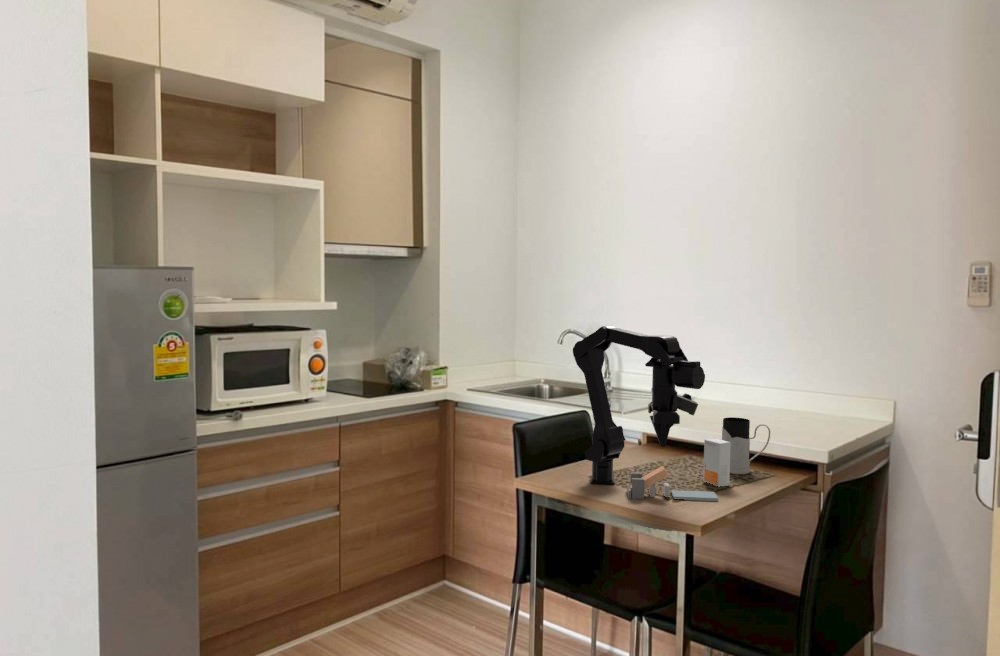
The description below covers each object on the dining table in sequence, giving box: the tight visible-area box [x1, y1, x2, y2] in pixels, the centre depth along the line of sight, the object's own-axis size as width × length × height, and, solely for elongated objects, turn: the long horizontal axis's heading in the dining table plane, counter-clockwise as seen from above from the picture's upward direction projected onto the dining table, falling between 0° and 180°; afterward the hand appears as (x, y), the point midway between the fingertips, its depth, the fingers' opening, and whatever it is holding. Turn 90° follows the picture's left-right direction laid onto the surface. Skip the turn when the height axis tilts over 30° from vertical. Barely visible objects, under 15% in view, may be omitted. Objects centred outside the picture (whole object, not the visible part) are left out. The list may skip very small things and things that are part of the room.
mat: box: [670, 489, 719, 502], centre depth 199 cm, size 6×11×1 cm, turn 84°
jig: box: [626, 471, 671, 500], centre depth 201 cm, size 7×10×5 cm
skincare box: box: [702, 437, 731, 488], centre depth 213 cm, size 6×4×12 cm
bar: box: [628, 465, 669, 490], centre depth 200 cm, size 4×10×2 cm
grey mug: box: [721, 416, 771, 475], centre depth 228 cm, size 9×14×15 cm, turn 87°
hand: (662, 445), depth 199 cm, fingers closed
